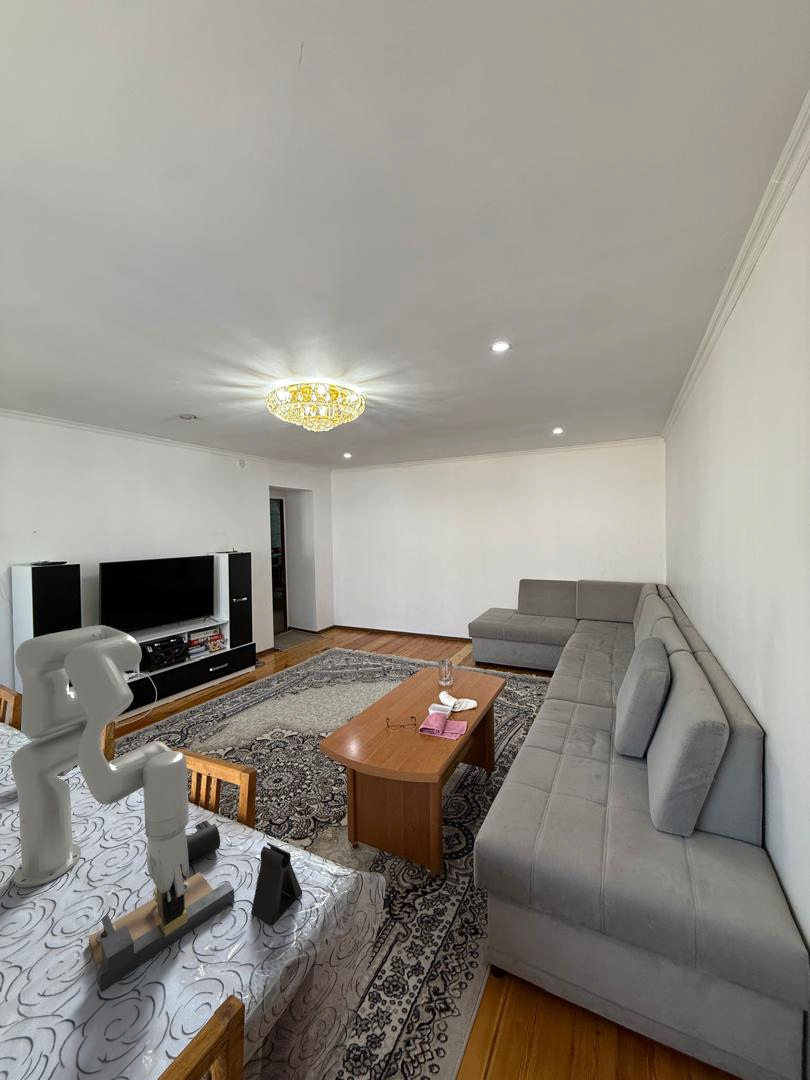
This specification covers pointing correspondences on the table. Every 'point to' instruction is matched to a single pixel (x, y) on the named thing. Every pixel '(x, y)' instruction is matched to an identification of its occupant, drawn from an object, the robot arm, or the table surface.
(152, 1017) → the table surface
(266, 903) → the black triangular stand
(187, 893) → the plate
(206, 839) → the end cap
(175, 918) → the block
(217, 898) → the rail
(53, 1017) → the table surface
